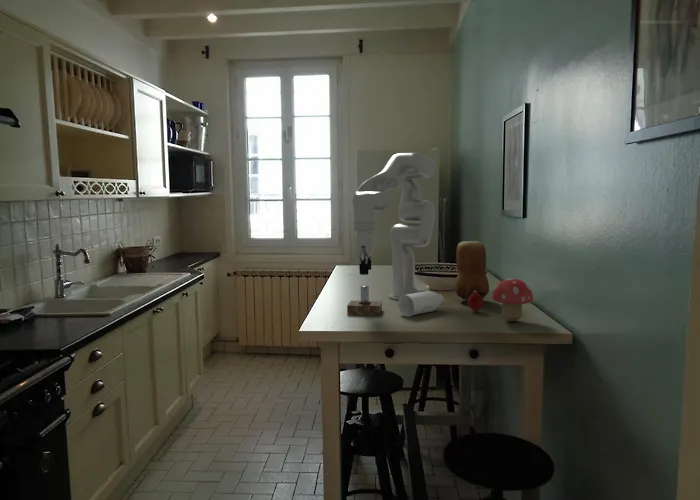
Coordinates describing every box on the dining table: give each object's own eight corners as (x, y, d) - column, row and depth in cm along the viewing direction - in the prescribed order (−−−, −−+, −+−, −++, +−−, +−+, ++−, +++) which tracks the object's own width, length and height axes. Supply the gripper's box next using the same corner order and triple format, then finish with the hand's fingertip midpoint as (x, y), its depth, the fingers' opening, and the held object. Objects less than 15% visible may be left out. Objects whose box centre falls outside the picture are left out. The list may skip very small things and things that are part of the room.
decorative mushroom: (504, 315, 189) (505, 274, 187) (539, 321, 179) (540, 278, 177) (483, 321, 180) (484, 278, 178) (519, 328, 170) (520, 283, 168)
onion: (484, 310, 196) (484, 289, 196) (482, 314, 191) (483, 292, 190) (468, 309, 198) (468, 289, 197) (466, 313, 193) (466, 291, 192)
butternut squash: (471, 297, 223) (472, 238, 220) (495, 302, 212) (496, 240, 209) (447, 300, 215) (447, 240, 212) (471, 306, 204) (472, 242, 201)
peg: (369, 311, 197) (369, 285, 196) (368, 313, 194) (368, 286, 193) (361, 311, 198) (361, 285, 197) (360, 313, 195) (360, 286, 194)
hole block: (381, 310, 199) (381, 301, 199) (379, 315, 191) (379, 306, 190) (350, 309, 201) (350, 300, 201) (347, 314, 192) (347, 305, 192)
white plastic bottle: (448, 311, 197) (448, 290, 196) (412, 318, 186) (412, 296, 185) (433, 307, 203) (433, 287, 202) (397, 314, 192) (397, 293, 191)
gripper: (357, 224, 202) (358, 268, 204) (350, 229, 185) (352, 276, 187) (376, 224, 200) (377, 267, 203) (371, 228, 184) (373, 276, 186)
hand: (365, 272), depth 195 cm, fingers open, 9 cm apart
